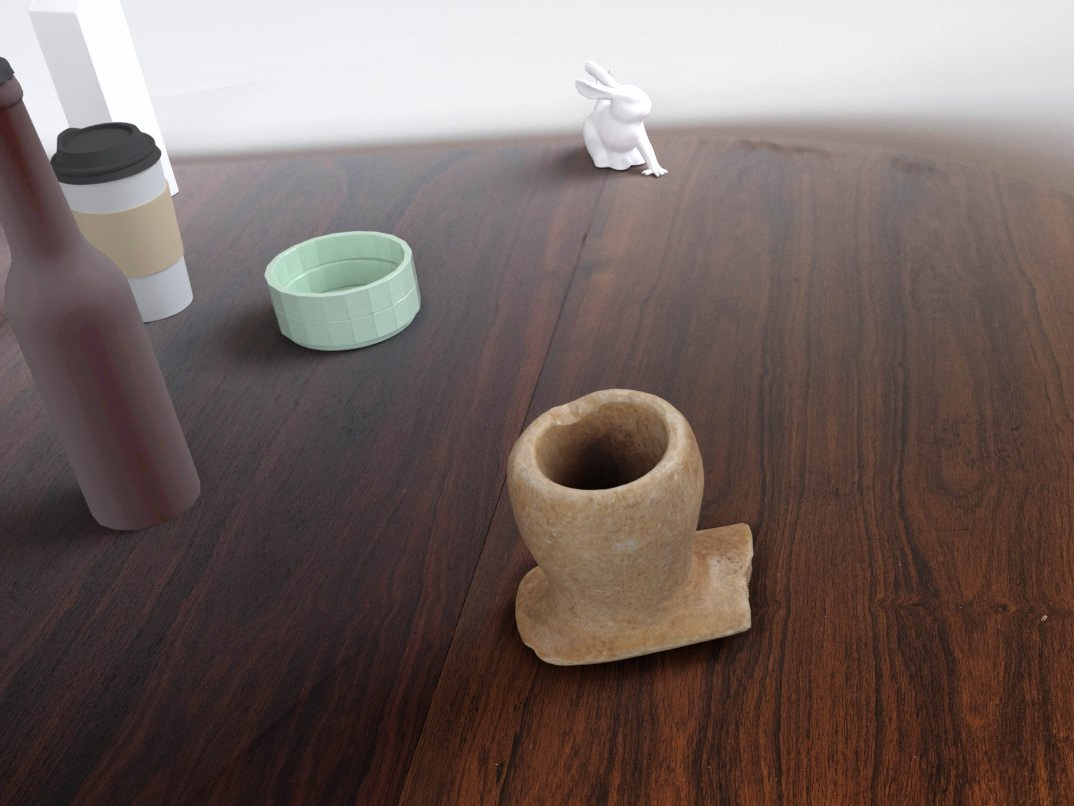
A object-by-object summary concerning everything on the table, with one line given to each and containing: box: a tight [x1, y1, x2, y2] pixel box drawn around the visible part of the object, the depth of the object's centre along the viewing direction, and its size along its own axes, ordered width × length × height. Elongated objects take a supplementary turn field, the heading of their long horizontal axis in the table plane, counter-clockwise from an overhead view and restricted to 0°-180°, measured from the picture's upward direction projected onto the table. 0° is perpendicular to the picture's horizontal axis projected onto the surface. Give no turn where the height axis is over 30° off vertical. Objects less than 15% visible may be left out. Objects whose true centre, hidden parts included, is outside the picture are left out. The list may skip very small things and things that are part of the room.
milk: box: [27, 0, 180, 198], centre depth 127 cm, size 6×6×22 cm
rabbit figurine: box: [574, 60, 669, 177], centre depth 128 cm, size 12×8×10 cm, turn 20°
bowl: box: [263, 230, 422, 352], centre depth 109 cm, size 12×12×5 cm
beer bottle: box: [0, 56, 201, 531], centre depth 81 cm, size 8×8×30 cm
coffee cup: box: [49, 122, 194, 323], centre depth 111 cm, size 9×9×15 cm
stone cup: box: [506, 388, 754, 666], centre depth 73 cm, size 15×12×15 cm
